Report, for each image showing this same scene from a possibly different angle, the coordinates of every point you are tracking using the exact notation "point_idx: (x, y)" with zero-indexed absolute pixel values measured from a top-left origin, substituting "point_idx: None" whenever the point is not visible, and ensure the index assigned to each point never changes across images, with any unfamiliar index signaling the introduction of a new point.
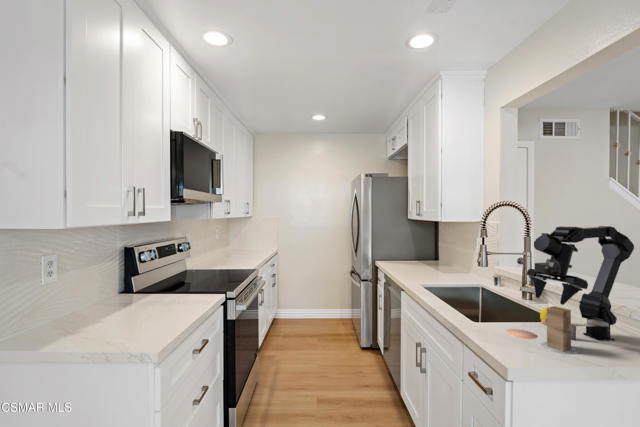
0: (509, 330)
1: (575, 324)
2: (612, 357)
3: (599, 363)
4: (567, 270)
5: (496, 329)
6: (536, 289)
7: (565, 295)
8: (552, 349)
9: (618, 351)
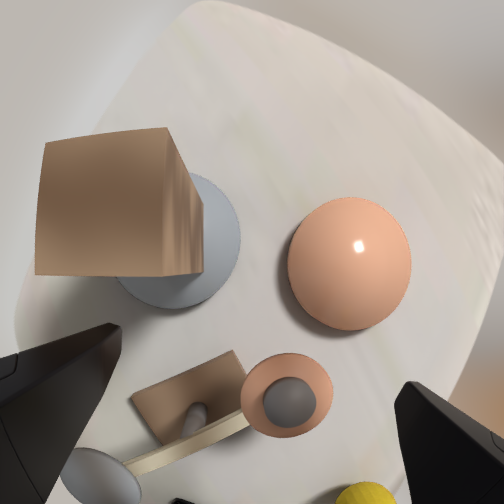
0: (401, 255)
1: (175, 444)
2: None
3: None
4: None
5: (442, 254)
6: (464, 424)
7: (18, 358)
8: None
9: (90, 443)
